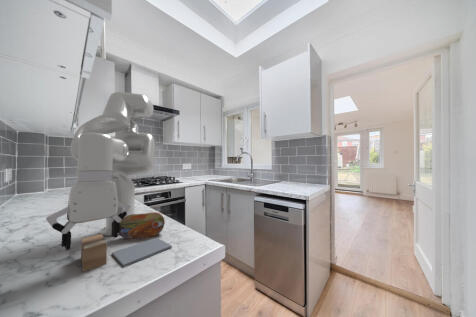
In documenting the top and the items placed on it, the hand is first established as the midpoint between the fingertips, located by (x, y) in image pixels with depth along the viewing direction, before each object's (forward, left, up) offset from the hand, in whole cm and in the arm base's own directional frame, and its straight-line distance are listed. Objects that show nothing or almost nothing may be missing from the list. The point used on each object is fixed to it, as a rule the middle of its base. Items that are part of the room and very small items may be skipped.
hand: (92, 242), depth 45 cm
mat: (+4, +11, -5) cm, 13 cm away
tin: (-8, +16, -6) cm, 18 cm away
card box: (-1, 0, -6) cm, 6 cm away
